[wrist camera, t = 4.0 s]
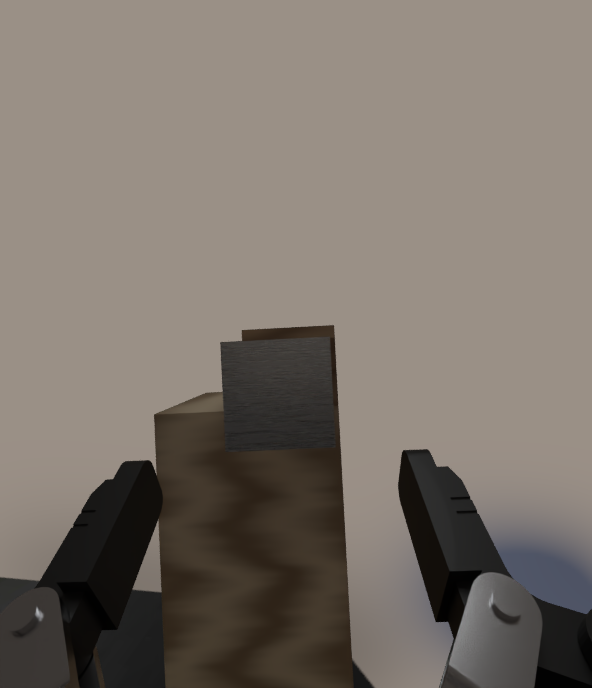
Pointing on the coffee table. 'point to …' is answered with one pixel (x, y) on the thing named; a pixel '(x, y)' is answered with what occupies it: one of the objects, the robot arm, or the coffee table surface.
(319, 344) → the bar
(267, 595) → the stand
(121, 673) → the coffee table surface
